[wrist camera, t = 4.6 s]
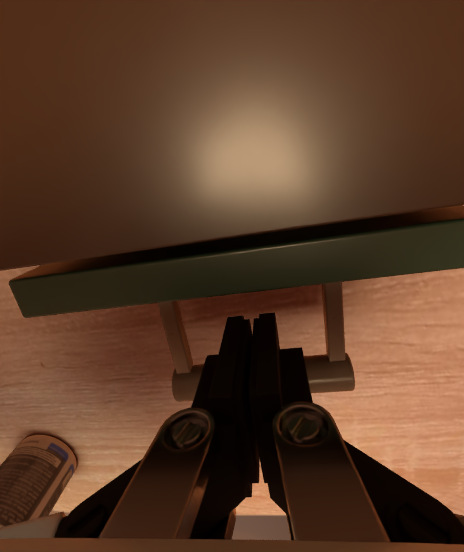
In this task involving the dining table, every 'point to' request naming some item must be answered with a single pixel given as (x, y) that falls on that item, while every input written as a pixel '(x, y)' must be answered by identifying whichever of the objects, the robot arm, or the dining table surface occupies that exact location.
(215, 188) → the cabinet
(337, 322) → the drawer
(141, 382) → the dining table surface
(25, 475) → the pill bottle
